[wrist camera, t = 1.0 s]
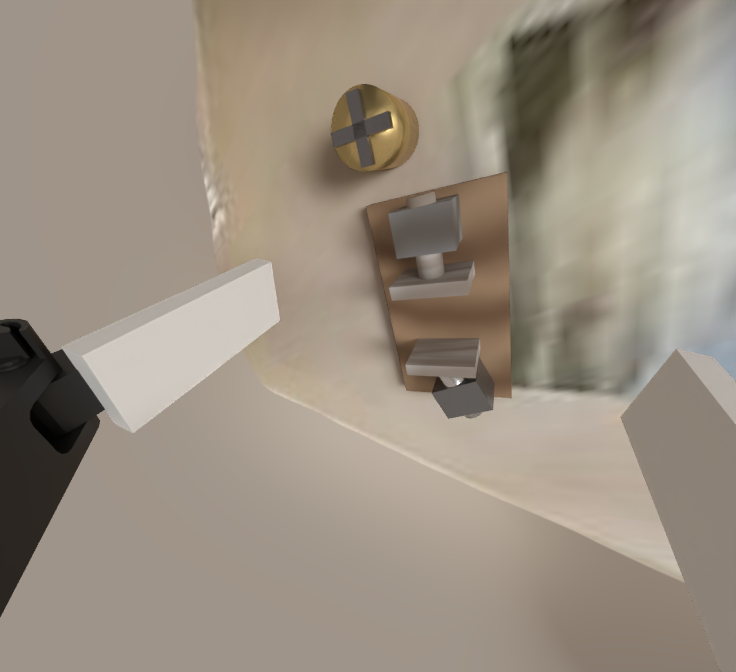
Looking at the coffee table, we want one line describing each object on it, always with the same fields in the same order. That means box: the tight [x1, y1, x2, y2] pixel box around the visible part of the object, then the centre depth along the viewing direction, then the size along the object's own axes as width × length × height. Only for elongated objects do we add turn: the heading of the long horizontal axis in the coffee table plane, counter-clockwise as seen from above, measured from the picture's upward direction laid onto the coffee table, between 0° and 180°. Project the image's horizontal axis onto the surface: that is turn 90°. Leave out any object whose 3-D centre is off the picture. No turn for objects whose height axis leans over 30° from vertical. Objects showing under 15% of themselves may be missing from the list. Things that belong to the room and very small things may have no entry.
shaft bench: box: [366, 172, 511, 398], centre depth 28 cm, size 22×12×7 cm, turn 14°
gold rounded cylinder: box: [331, 84, 419, 172], centre depth 23 cm, size 5×5×7 cm
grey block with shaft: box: [432, 357, 495, 419], centre depth 31 cm, size 6×5×4 cm
